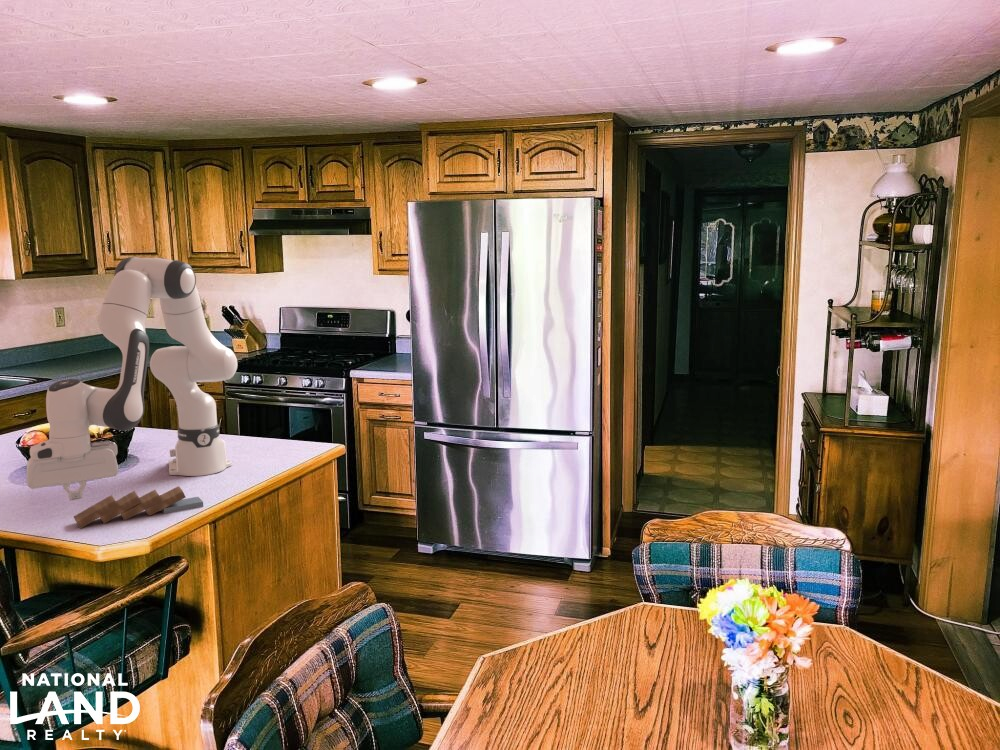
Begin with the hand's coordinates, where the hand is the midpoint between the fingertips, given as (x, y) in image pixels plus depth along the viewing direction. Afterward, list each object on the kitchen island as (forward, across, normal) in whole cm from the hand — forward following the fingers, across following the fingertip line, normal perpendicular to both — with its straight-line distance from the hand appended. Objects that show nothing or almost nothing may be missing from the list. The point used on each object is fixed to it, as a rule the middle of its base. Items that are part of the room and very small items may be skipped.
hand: (75, 498), depth 200 cm
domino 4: (+6, -16, 0) cm, 17 cm away
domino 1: (+6, 0, 0) cm, 6 cm away
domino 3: (+6, -10, 0) cm, 12 cm away
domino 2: (+6, -5, 0) cm, 8 cm away
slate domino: (+7, -20, 0) cm, 21 cm away
